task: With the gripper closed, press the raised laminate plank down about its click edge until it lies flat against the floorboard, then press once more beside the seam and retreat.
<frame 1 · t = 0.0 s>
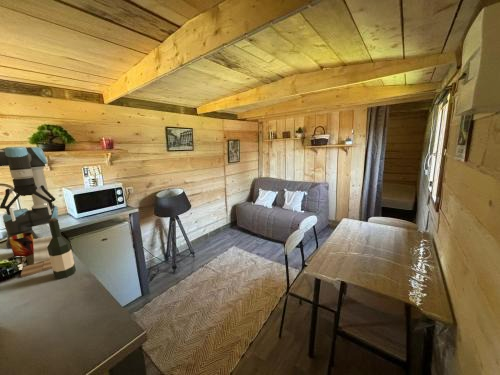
hand: (33, 217, 111), 28 cm above the kitchen counter, fingers open, 13 cm apart
mug: (29, 253, 131), on the kitchen counter
floorboard: (43, 267, 115), on the kitchen counter
plank: (43, 249, 124), point 5 cm above the kitchen counter, hinge at 30.0°
wine bottle: (65, 274, 108), on the kitchen counter
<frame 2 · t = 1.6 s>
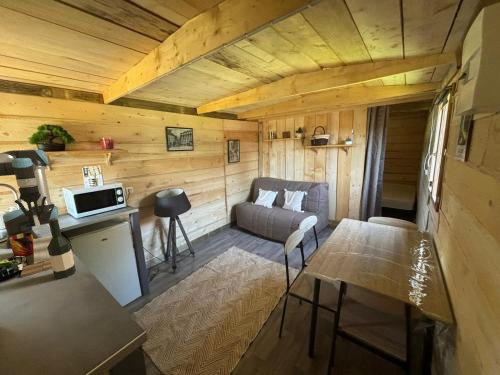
hand: (37, 225, 122), 20 cm above the kitchen counter, fingers closed
nothing on the kitchen counter moved.
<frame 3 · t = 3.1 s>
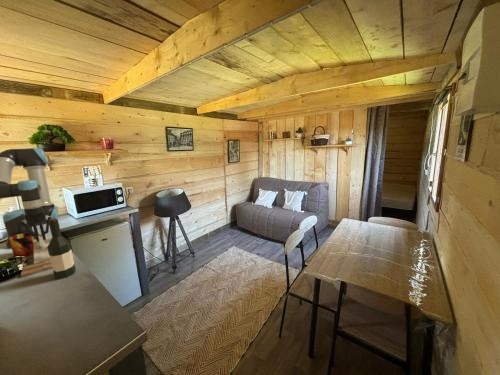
hand: (42, 245, 124), 7 cm above the kitchen counter, fingers closed
plank: (43, 249, 124), point 5 cm above the kitchen counter, hinge at 28.1°, touching gripper
everything else where it was.
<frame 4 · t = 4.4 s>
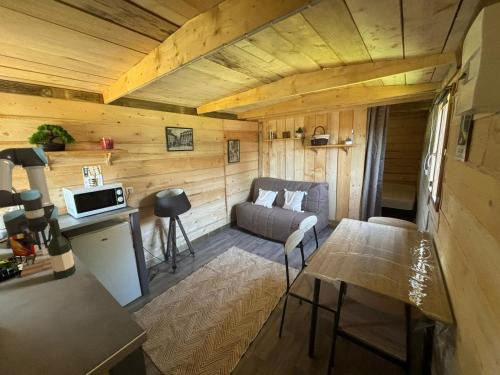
hand: (45, 253, 126), 2 cm above the kitchen counter, fingers closed
plank: (45, 255, 126), point 1 cm above the kitchen counter, hinge at 0.9°, touching gripper
everything else where it was.
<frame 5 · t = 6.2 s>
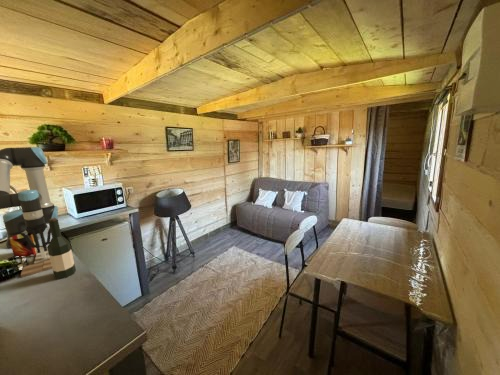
hand: (44, 256, 121), 3 cm above the kitchen counter, fingers closed
plank: (45, 255, 126), point 1 cm above the kitchen counter, hinge at 0.9°
everything else where it was.
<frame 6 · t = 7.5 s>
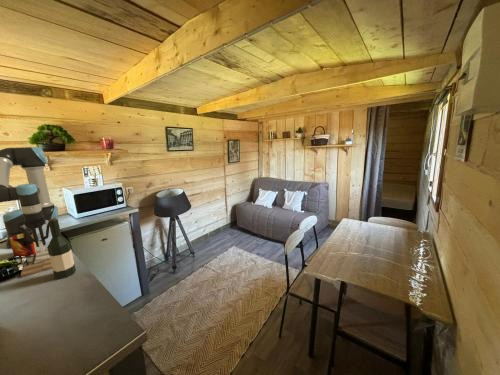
hand: (42, 251, 121), 6 cm above the kitchen counter, fingers closed
nothing on the kitchen counter moved.
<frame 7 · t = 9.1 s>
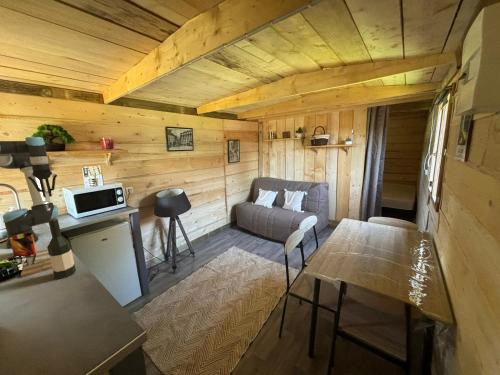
hand: (49, 202, 130), 31 cm above the kitchen counter, fingers closed
nothing on the kitchen counter moved.
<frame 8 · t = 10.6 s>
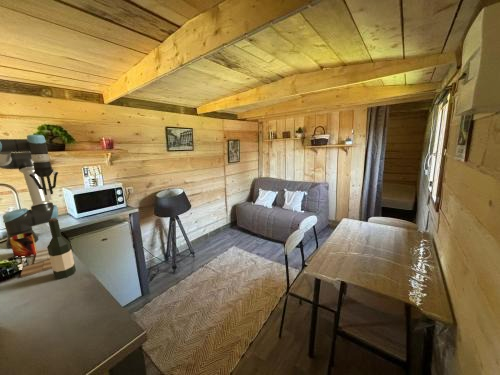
hand: (50, 199, 130), 32 cm above the kitchen counter, fingers closed
nothing on the kitchen counter moved.
at the end: plank at +1° (first picture: +30°); plank touching nothing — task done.
